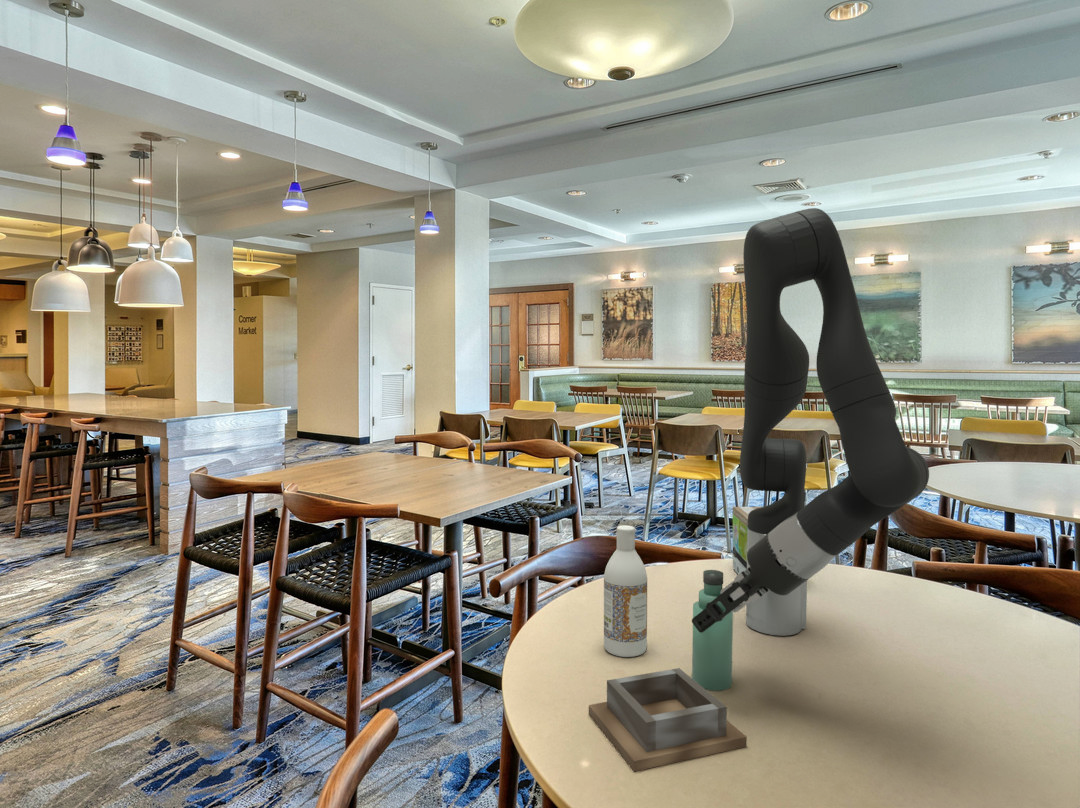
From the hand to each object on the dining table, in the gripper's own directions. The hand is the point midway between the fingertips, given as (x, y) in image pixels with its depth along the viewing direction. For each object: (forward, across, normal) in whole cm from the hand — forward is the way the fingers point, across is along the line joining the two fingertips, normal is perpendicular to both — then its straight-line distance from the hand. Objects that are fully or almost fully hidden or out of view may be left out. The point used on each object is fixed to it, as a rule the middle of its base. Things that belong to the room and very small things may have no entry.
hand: (709, 617), depth 94 cm
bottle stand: (+6, +16, +7) cm, 18 cm away
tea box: (+14, -51, 0) cm, 52 cm away
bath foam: (+17, -2, -4) cm, 18 cm away
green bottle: (+6, 0, +7) cm, 9 cm away
